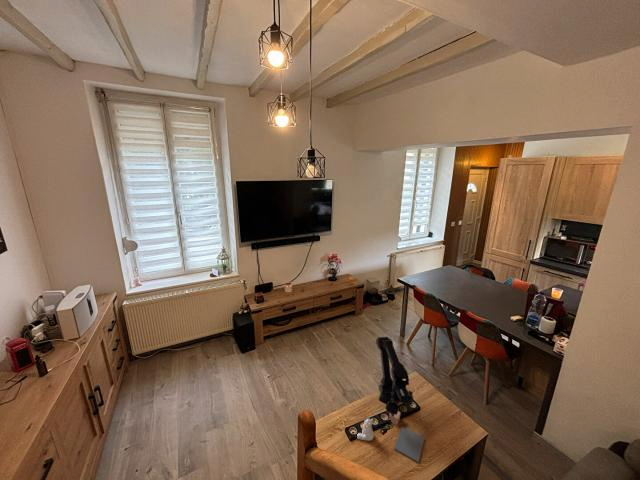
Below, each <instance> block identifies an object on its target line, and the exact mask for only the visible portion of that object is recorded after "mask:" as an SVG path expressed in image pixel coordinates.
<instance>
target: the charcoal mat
mask: <svg viewBox="0 0 640 480" xmlns="http://www.w3.org/2000/svg"><path fill="white" fill-rule="evenodd" d="M397 436H398V437H397V439H396V442H395V445H394V448H393V450H394V451H396V452H398V453H399V454H401V455H403V456H405V457H406V458H408V459H410V460H412V461H414V462H415V463H417V464H419V462H420V457H421V454H422V451H423V450H422V449H423V446H424V442H425V437H424V436H422V435H420V434H418V433H417V432H414V431H412V430H410V429H409V428H406V427H405V426H403V425H401V428H400V431H399V434H398V435H397Z"/></svg>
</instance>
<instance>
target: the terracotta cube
mask: <svg viewBox="0 0 640 480" xmlns="http://www.w3.org/2000/svg"><path fill="white" fill-rule="evenodd" d="M389 420H391V422H392V423H391V422H390V423H391V424H393V425H395V426H398V424H399V422H400V420H401V411H398V413H397V414H396V415H395V414H394V417H393V416H392V415H391V413H390V412H389V415H388V421H389Z"/></svg>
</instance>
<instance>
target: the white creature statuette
mask: <svg viewBox="0 0 640 480" xmlns="http://www.w3.org/2000/svg"><path fill="white" fill-rule="evenodd" d="M373 422H374V419H373V418H371V419H370V418H366V419H364V422H363V423H364V424H363V423H362V424H363V426H364V427H362V430H361V431H362V433H361V432H357V433H358V434H357V433H356V434H357V438H356V439H357V440H362V441H368V442H369V441H373V439H374V438H375V436H374V435H375V434H374V433H375V432H374V430H373V427H372V426H373Z"/></svg>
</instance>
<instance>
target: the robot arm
mask: <svg viewBox="0 0 640 480" xmlns="http://www.w3.org/2000/svg"><path fill="white" fill-rule="evenodd" d="M375 343H376V347H377V349H378V350H379V351H380V358H381V359H380V360H381V361H380V362H381V370H382V372H381V373H382V378H381V380H380V384H379V385H378V390H379V393H380V394H379V398H378V401H380V402H382V403H383V404H386V405H385V410H386V411H388V412H389V414H390V413H391V415H392V416H393V417H394V414H395V415H396V414H397V413H398V411H399V410H400V406H399V404H400V403H401V404H404V405H405V406H406V407H407V408H410V407H411V405H412V404H413V402H414V396H413V395H414V394H413V393H414V392H412V391H411V390H408V388H407V386H409V385H410V378H409V374H408V371H407V369H406V367H405V365H404V364H403V363H401V361H400V360H399V357H398V355H397V352H396V349H395V347H394V342H393V340H392V338H389V337H388V336H380V337H378V336H377V338H376V339H375ZM390 367H391V369H390ZM392 400H393V401H392ZM399 412H400V411H399Z"/></svg>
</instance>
